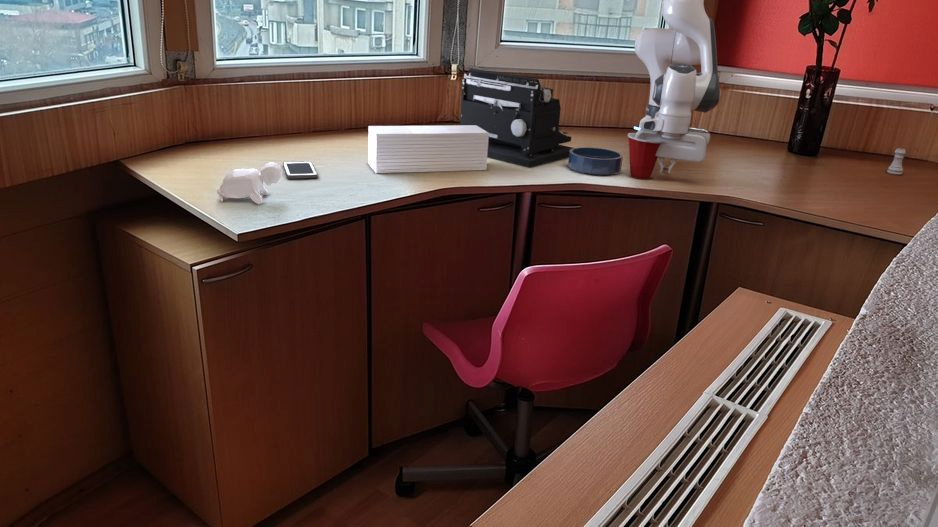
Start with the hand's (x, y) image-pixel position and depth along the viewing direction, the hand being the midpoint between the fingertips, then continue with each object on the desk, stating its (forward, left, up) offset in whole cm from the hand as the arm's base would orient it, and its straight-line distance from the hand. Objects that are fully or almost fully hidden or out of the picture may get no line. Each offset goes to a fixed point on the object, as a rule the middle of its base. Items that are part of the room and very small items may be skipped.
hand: (665, 173), depth 205 cm
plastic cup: (0, -7, -2) cm, 7 cm away
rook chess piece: (-58, +63, -2) cm, 86 cm away
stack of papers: (+28, -62, -2) cm, 68 cm away
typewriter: (-7, -49, -2) cm, 49 cm away
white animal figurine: (+80, -81, -2) cm, 114 cm away
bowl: (0, -21, -2) cm, 21 cm away
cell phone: (+54, -87, -2) cm, 102 cm away
